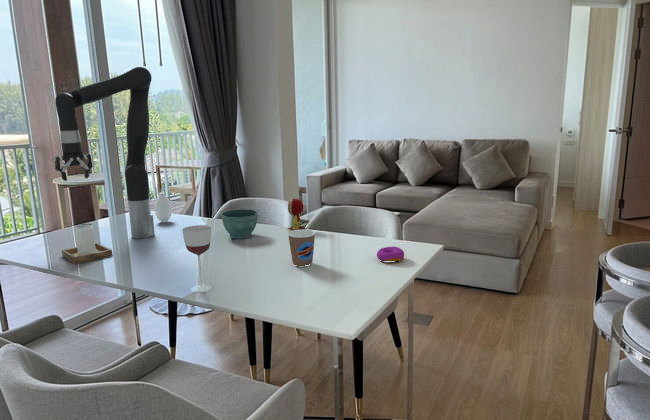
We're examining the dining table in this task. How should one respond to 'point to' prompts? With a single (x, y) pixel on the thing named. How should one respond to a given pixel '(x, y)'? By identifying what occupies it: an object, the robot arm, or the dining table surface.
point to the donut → (390, 254)
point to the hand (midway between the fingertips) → (75, 179)
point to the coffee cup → (302, 246)
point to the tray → (76, 259)
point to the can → (85, 239)
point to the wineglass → (197, 242)
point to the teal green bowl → (239, 222)
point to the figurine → (295, 213)
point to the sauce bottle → (163, 208)
